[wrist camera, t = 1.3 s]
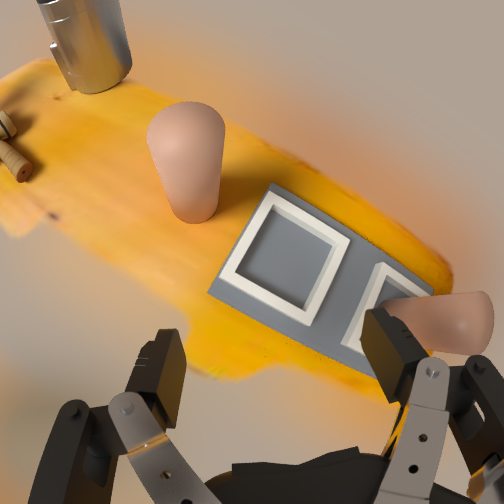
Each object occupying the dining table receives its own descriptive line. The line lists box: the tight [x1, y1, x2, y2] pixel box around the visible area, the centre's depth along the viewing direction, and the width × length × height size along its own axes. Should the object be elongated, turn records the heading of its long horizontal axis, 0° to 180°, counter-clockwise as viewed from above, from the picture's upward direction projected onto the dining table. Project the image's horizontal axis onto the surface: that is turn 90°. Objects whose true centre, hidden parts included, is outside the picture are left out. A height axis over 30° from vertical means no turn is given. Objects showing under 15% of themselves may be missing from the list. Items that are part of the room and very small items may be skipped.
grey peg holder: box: [207, 182, 494, 380], centre depth 22 cm, size 24×13×14 cm, turn 62°
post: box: [147, 102, 225, 224], centre depth 22 cm, size 5×5×13 cm
